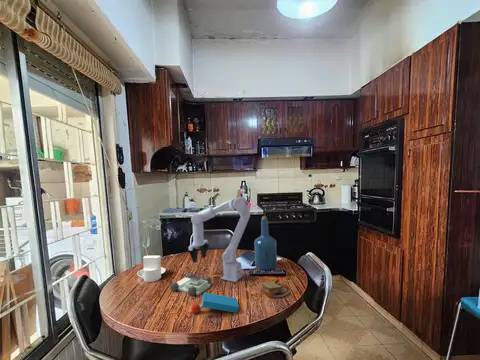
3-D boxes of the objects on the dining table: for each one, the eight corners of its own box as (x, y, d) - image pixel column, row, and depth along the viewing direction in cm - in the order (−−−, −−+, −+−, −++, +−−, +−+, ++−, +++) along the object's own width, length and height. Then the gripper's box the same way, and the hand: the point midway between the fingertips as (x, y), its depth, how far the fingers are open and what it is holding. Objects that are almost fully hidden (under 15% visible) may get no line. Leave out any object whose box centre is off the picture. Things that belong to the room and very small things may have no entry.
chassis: (212, 285, 118) (211, 277, 118) (195, 297, 107) (195, 288, 107) (187, 279, 126) (187, 272, 126) (169, 290, 114) (169, 282, 114)
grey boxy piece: (202, 285, 116) (202, 275, 116) (197, 289, 112) (197, 279, 112) (195, 284, 118) (195, 274, 118) (190, 287, 114) (189, 277, 114)
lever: (232, 314, 100) (191, 307, 98) (236, 298, 101) (195, 290, 98) (234, 324, 94) (189, 316, 91) (238, 306, 94) (194, 299, 92)
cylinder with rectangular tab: (163, 274, 133) (163, 253, 133) (156, 281, 124) (155, 259, 124) (148, 274, 134) (148, 253, 134) (140, 281, 125) (139, 259, 125)
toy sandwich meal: (295, 295, 106) (294, 284, 106) (268, 301, 101) (267, 290, 101) (281, 283, 118) (281, 274, 117) (256, 289, 113) (256, 279, 113)
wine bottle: (258, 272, 132) (257, 219, 132) (252, 264, 145) (250, 215, 145) (281, 269, 135) (279, 217, 135) (272, 261, 148) (271, 214, 148)
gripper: (200, 231, 137) (201, 254, 137) (183, 237, 124) (184, 263, 124) (210, 232, 134) (211, 256, 134) (194, 238, 121) (195, 265, 121)
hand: (199, 259), depth 129 cm, fingers open, 7 cm apart
